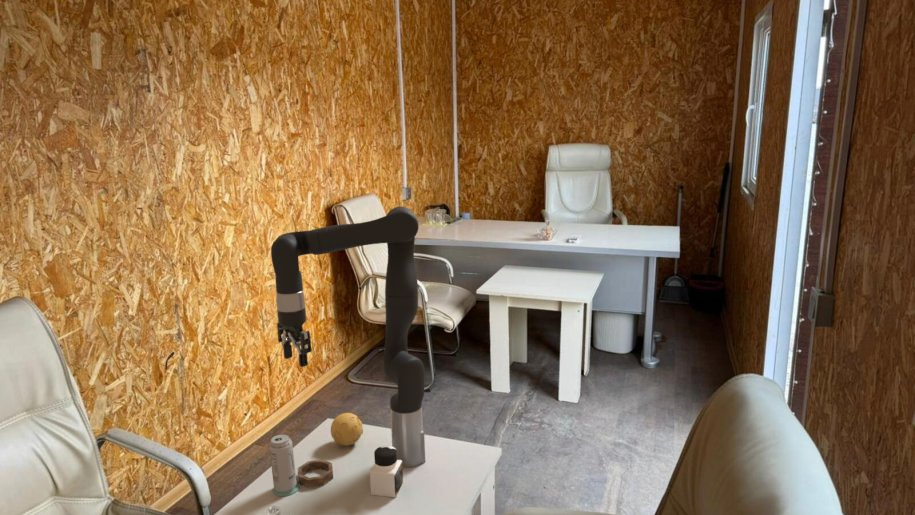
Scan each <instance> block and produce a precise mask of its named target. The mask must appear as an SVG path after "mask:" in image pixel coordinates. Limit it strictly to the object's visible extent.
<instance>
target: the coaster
mask: <svg viewBox="0 0 915 515" xmlns="http://www.w3.org/2000/svg"><path fill="white" fill-rule="evenodd" d="M299 490H300V484H299V483H298V481H297V480H296V486H295V488H294V489H293V490H292V491H290V492H288V493H278V492H277V491H276V490H275V489H274V487H273V489H272V492H273V494H274V495H275V496H277V497H288V496H292V495H294V494H296V493H297V492H298V491H299Z"/></svg>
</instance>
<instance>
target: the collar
mask: <svg viewBox="0 0 915 515" xmlns="http://www.w3.org/2000/svg"><path fill="white" fill-rule="evenodd" d="M317 470H318V471H319V470H321V471H322V470H323V471H325V473H323V474H322V475H319V476H313V477H309V476H307V475H306V474H307V473H309V472H312V471H317ZM333 479H334V470H333V463H332V462H329V461H327V460H324V459H316V460H309V461H306V462H305V463H303V464H302V465H300V466H299V467H298V468H297V480H298V481H297V482H298V483H299V486H303V487H305V488H309V489H311V488H317V487H323V486H325V485H327V484H328V483H329V482H331V481H332V480H333Z"/></svg>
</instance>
